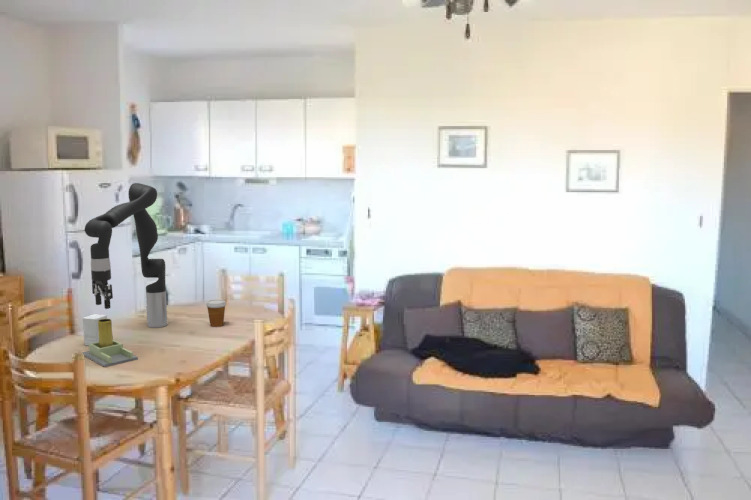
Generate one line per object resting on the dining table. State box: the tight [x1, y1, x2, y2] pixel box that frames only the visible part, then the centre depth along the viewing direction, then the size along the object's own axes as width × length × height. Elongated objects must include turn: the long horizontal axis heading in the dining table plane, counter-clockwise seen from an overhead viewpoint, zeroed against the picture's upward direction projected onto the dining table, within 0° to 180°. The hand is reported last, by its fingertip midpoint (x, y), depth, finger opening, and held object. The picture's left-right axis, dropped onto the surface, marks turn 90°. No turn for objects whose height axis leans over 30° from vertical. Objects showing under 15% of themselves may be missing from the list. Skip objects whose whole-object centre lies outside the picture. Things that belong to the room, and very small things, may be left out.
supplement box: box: [82, 313, 108, 347], centre depth 294 cm, size 7×7×13 cm
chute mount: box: [81, 339, 139, 368], centre depth 276 cm, size 22×14×5 cm, turn 46°
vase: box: [98, 318, 114, 348], centre depth 278 cm, size 6×6×14 cm
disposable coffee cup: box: [206, 299, 227, 328], centre depth 325 cm, size 10×10×12 cm
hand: (103, 306), depth 275 cm, fingers open, 8 cm apart
